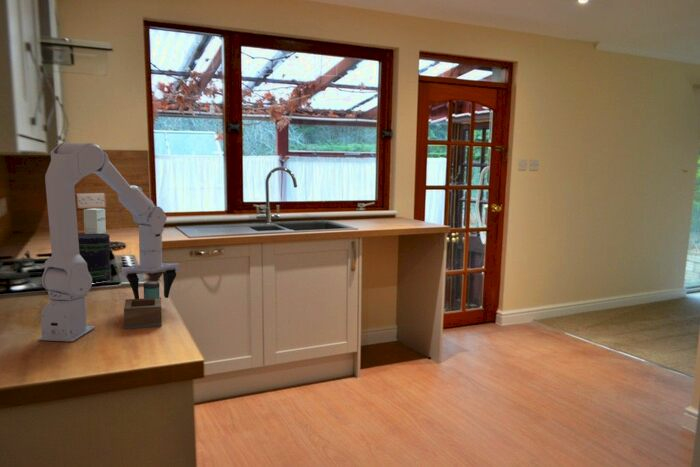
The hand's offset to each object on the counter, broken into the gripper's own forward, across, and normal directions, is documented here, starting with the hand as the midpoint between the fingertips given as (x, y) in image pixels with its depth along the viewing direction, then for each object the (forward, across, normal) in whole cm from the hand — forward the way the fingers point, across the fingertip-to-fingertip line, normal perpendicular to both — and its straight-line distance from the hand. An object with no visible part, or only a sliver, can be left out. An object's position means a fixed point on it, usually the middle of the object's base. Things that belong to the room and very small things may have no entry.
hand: (151, 298), depth 139 cm
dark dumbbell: (+3, +9, +38) cm, 39 cm away
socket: (+3, -4, -12) cm, 13 cm away
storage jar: (+3, -9, +39) cm, 40 cm away
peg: (+3, 0, 0) cm, 3 cm away
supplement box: (+3, +4, +144) cm, 144 cm away
